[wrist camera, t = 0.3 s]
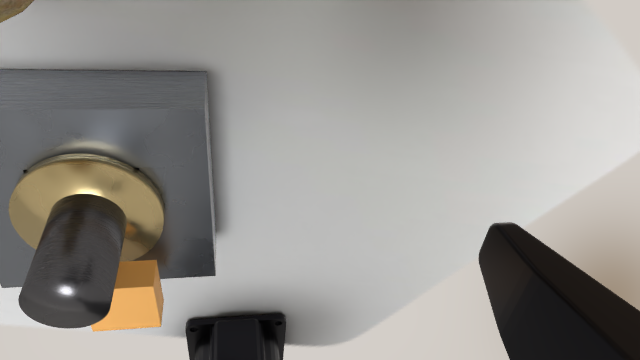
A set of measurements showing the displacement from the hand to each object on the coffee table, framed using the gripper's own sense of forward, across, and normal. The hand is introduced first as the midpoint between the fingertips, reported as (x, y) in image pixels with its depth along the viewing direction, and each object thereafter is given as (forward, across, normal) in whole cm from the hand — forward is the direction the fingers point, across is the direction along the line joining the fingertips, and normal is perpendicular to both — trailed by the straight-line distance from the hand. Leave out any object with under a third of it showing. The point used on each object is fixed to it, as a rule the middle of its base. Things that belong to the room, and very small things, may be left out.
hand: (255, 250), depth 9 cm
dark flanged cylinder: (+14, +6, +9) cm, 18 cm away
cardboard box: (+10, +5, +12) cm, 17 cm away
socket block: (+14, +6, +9) cm, 18 cm away
